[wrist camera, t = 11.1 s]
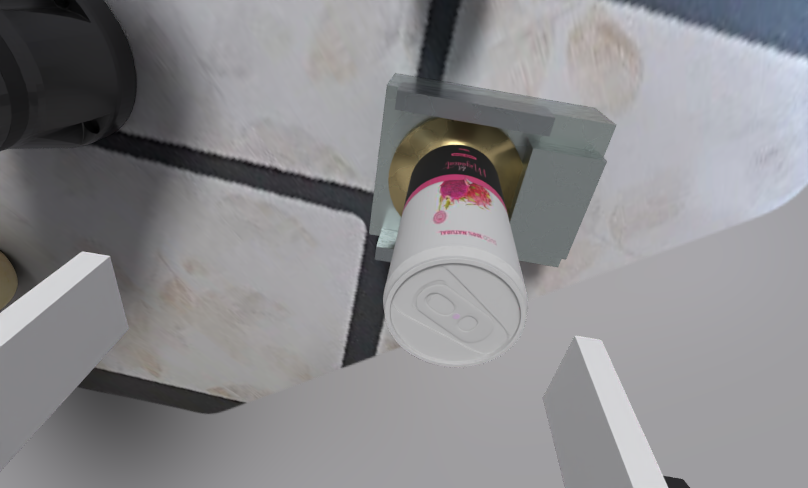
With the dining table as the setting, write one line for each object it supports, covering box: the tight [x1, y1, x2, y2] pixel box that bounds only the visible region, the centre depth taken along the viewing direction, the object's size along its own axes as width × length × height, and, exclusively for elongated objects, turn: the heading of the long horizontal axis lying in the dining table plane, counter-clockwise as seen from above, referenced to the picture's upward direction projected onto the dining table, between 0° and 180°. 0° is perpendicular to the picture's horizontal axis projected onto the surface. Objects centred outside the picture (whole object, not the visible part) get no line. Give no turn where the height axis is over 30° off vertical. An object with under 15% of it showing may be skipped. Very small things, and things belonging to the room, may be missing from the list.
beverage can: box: [383, 144, 528, 367], centre depth 25 cm, size 6×7×15 cm
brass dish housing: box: [369, 73, 616, 267], centre depth 33 cm, size 16×13×8 cm
